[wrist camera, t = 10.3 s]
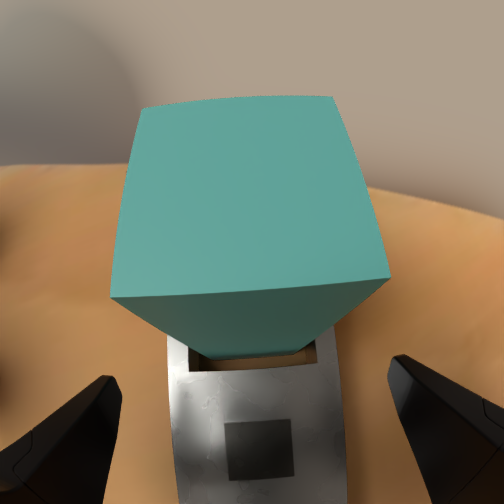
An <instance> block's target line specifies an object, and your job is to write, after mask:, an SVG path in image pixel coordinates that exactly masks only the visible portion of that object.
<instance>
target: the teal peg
mask: <svg viewBox="0 0 504 504" xmlns="http://www.w3.org/2000/svg"><path fill="white" fill-rule="evenodd" d="M390 278H391V274H390V270H389V266H388V261H387V257H386V253H385V249H384V245H383V241H382V238H381V234H380V230H379V227H378V223H377V220H376V216H375V213H374V209H373V206H372V203H371V200H370V196H369V193H368V190H367V187H366V184H365V181H364V178H363V175H362V172H361V169H360V166H359V163H358V160H357V158H356V155H355V152H354V149H353V147H352V144H351V141H350V139H349V136H348V134H347V131H346V128H345V126H344V123H343V121H342V118H341V116H340V114H339V111H338V109H337V106H336V104H335V102H334V99H333V97H327V96H252V97H234V98H221V99H210V100H200V101H191V102H183V103H175V104H168V105H161V106H155V107H149V108H143V109H142V112H141V115H140V119H139V123H138V127H137V130H136V135H135V139H134V143H133V147H132V151H131V156H130V160H129V165H128V170H127V174H126V179H125V185H124V190H123V195H122V201H121V207H120V213H119V220H118V227H117V234H116V241H115V249H114V258H113V267H112V278H111V290H110V298H111V299H113V300H114V301H116V302H117V303H119V304H120V305H122V306H123V307H125V308H126V309H128V310H129V311H131V312H132V313H134V314H135V315H137V316H139V317H140V318H142V319H143V320H145V321H146V322H148V323H150V324H151V325H153V326H154V327H156V328H158V329H159V330H161V331H163V332H164V333H166V334H168V335H169V336H171V337H173V338H174V339H176V340H178V341H179V342H181V343H183V344H185V345H186V346H188V347H190V348H191V349H193V350H195V351H197V352H199V353H200V354H202V355H204V356H206V357H208V358H209V359H211V360H231V359H247V358H261V357H273V356H283V355H293V354H295V353H296V352H297V351H299V350H300V349H302V348H303V347H304V346H306V345H307V344H309V343H310V342H311V341H313V340H314V339H315V338H317V337H318V336H319V335H321V334H322V333H323V332H325V331H326V330H327V329H329V328H330V327H331V326H333V325H334V324H335V323H336V322H338V321H339V320H340V319H342V318H343V317H344V316H345V315H347V314H348V313H349V312H350V311H352V310H353V309H354V308H355V307H357V306H358V305H359V304H360V303H362V302H363V301H364V300H365V299H366V298H368V297H369V296H370V295H371V294H372V293H374V292H375V291H376V290H377V289H378V288H379V287H381V286H382V285H383V284H384V283H385V282H386V281H388V280H389V279H390Z"/></svg>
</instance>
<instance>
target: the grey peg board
mask: <svg viewBox="0 0 504 504" xmlns="http://www.w3.org/2000/svg"><path fill="white" fill-rule="evenodd" d="M167 350H168V383H169V403H170V418H171V432H172V444H173V454H174V464H175V473H176V481H177V489H178V497H179V504H347V471H346V449H345V432H344V418H343V405H342V394H341V383H340V373H339V364H338V355H337V346H336V338H335V330H334V325H333V326H331V327H330V328H329V329H327V330H326V331H325V332H323V333H322V334H321V335H319V336H318V337H317V338H315V339H314V340H313V341H311V342H310V343H309V344H307V345H306V346H305V352H306V361H307V364H306V365H298V366H288V367H278V368H266V369H252V370H236V371H212V372H200V371H199V352H197V351H195V350H193V349H191V348H190V347H188V346H186V345H185V344H183V343H181V342H179V341H178V340H176V339H174V338H173V337H171V336H169V335H168V334H167Z"/></svg>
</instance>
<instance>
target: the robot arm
mask: <svg viewBox="0 0 504 504" xmlns="http://www.w3.org/2000/svg"><path fill="white" fill-rule="evenodd" d="M387 379H388V383H389V386H390V390H391V393H392V396H393V400H394V403H395V406H396V410H397V413H398V416H399V419H400V422H401V424H402V426H403V429H404V431H405V434H406V436H407V438H408V441H409V443H410V446H411V448H412V451H413V453H414V456H415V458H416V461H417V464H418V466H419V469H420V471H421V474H422V477H423V479H424V482H425V485H426V488H427V490H428V493H429V496H430V499H431V502H432V504H504V408H502V407H500V406H498V405H496V404H494V403H492V402H490V401H488V400H486V399H484V398H482V397H481V396H479V395H477V394H475V393H473V392H472V391H470V390H468V389H466V388H464V387H463V386H461V385H459V384H457V383H455V382H453V381H452V380H450V379H448V378H446V377H444V376H443V375H441V374H439V373H437V372H435V371H434V370H432V369H430V368H428V367H427V366H425V365H423V364H421V363H419V362H418V361H416V360H414V359H412V358H410V357H409V356H407V355H405V354H402V355H397V356H394V357H393V358H392V360H391V364H390V367H389V371H388V375H387ZM121 404H122V393H121V391H120V389H119V386H118V384H117V382H116V379H115V378H114V377H113V376H109V375H102V376H100V377H99V378H98V379H96V380H95V381H94V382H92V383H91V384H90V385H89V386H87V387H86V388H85V389H83V390H82V391H81V392H80V393H78V394H77V395H76V396H74V397H73V398H72V399H71V400H69V401H68V402H67V403H65V404H64V405H63V406H62V407H60V408H59V409H58V410H56V411H55V412H54V413H52V414H51V415H50V416H49V417H47V418H46V419H45V420H43V421H42V422H41V423H40V424H38V425H37V426H36V427H34V428H33V429H32V430H30V431H29V432H28V433H26V434H25V435H24V436H23V437H21V438H20V439H18V440H17V441H16V442H14V443H13V444H11V445H10V446H8V447H7V448H5V449H3V450H2V451H0V504H103V499H104V494H105V489H106V484H107V479H108V474H109V470H110V465H111V461H112V456H113V452H114V448H115V444H116V439H117V434H118V426H119V419H120V411H121Z"/></svg>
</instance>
